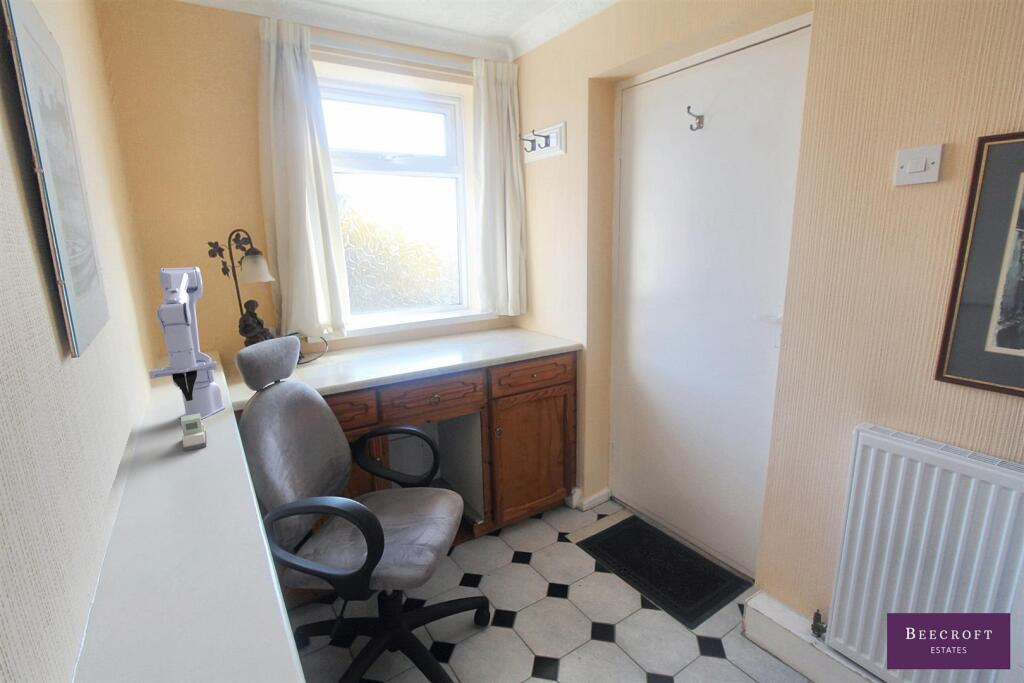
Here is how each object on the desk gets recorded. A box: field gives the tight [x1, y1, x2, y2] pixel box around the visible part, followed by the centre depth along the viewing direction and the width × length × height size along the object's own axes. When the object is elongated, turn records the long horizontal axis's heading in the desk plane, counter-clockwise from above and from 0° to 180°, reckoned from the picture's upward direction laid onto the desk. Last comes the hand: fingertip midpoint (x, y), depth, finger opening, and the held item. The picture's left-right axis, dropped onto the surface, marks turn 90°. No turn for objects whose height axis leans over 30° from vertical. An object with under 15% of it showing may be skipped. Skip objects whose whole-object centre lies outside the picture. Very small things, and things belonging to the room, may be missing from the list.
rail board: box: [181, 422, 207, 452], centre depth 123 cm, size 9×5×3 cm, turn 32°
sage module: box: [180, 413, 203, 436], centre depth 122 cm, size 4×4×6 cm
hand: (189, 399), depth 127 cm, fingers closed
